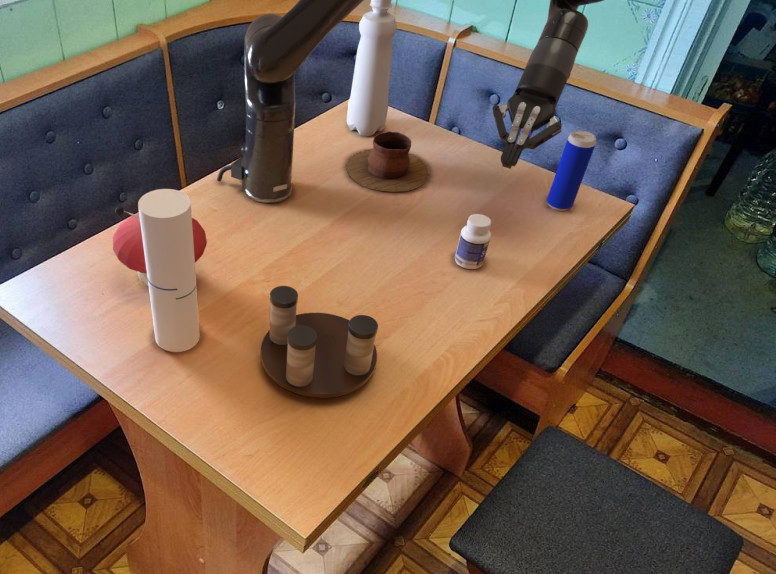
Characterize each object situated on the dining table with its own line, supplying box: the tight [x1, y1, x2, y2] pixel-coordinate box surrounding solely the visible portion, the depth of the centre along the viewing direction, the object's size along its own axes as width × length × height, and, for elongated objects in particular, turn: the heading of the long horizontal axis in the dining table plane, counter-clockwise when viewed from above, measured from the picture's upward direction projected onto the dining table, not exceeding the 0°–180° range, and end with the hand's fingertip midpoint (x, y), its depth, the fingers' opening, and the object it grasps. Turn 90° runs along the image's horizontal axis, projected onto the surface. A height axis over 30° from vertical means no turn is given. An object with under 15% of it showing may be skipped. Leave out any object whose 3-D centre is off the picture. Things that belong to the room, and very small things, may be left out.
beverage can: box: [546, 129, 597, 212], centre depth 142 cm, size 5×5×15 cm
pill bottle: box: [454, 213, 492, 270], centre depth 130 cm, size 5×5×9 cm
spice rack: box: [260, 285, 379, 399], centre depth 110 cm, size 18×18×9 cm
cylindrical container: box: [137, 188, 201, 353], centre depth 108 cm, size 7×7×25 cm
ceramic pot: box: [345, 130, 431, 193], centre depth 152 cm, size 18×18×7 cm
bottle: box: [346, 0, 398, 137], centre depth 157 cm, size 9×9×30 cm
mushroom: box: [112, 206, 208, 288], centre depth 122 cm, size 16×16×15 cm
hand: (506, 166), depth 128 cm, fingers closed
